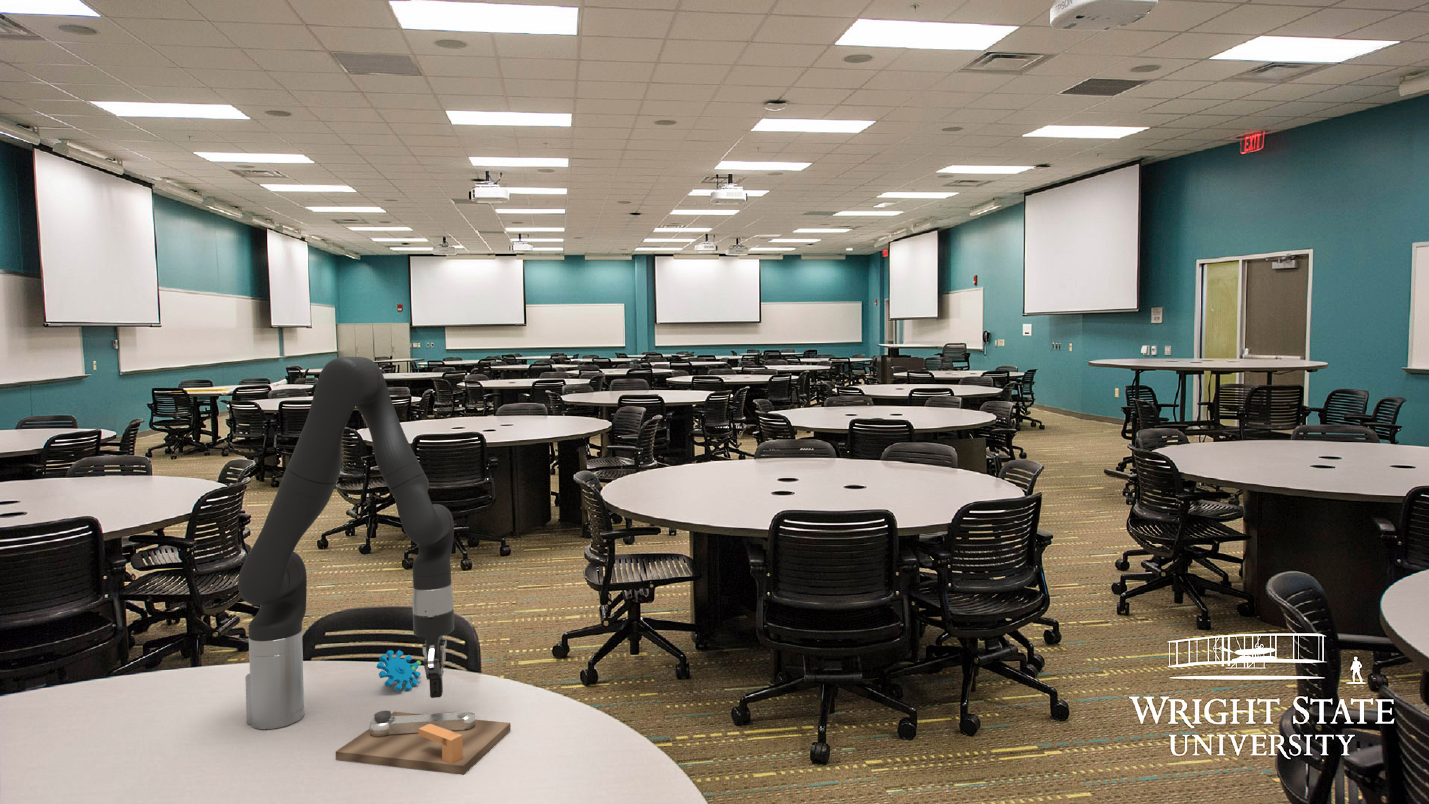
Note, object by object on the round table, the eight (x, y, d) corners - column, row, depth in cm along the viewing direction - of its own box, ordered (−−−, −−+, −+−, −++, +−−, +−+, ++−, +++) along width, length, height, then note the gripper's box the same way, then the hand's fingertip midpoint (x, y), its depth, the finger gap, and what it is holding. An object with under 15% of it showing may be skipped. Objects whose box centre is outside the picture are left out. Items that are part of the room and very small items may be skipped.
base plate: (335, 759, 141) (335, 732, 141) (394, 719, 157) (393, 694, 157) (463, 774, 135) (463, 745, 135) (510, 730, 152) (510, 704, 152)
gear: (392, 692, 167) (372, 652, 171) (377, 708, 168) (357, 669, 172) (433, 681, 176) (413, 643, 180) (418, 697, 178) (398, 659, 182)
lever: (367, 737, 146) (366, 726, 146) (374, 726, 150) (373, 716, 150) (472, 730, 148) (472, 720, 148) (476, 720, 153) (476, 710, 152)
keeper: (418, 750, 141) (418, 728, 141) (430, 745, 143) (429, 723, 143) (451, 763, 136) (451, 740, 136) (462, 757, 138) (462, 735, 138)
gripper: (418, 600, 161) (421, 685, 161) (407, 620, 148) (410, 712, 148) (457, 597, 162) (460, 681, 163) (449, 616, 149) (452, 707, 150)
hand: (436, 696), depth 155 cm, fingers closed
